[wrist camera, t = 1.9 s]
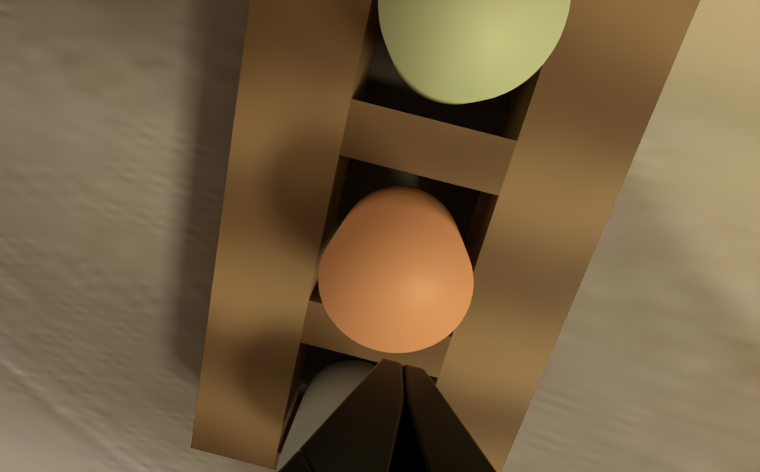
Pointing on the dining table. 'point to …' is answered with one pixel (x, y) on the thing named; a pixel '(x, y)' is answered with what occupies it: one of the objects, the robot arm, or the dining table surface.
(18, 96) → the dining table surface
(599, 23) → the wooden compartment tray
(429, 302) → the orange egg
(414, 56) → the button sage
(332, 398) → the sage green rounded cylinder
